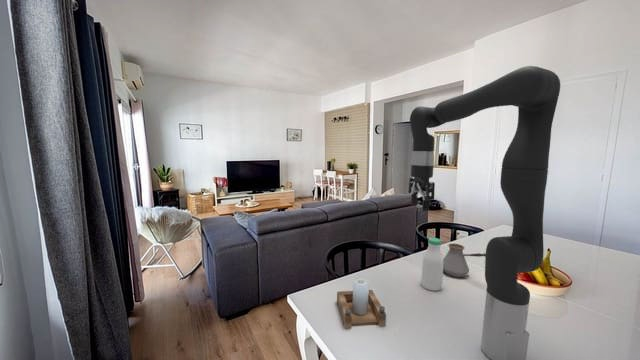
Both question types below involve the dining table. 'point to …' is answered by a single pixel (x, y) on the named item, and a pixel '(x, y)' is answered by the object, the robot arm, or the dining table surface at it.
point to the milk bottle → (432, 266)
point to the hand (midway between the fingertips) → (419, 207)
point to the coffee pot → (457, 261)
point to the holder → (351, 319)
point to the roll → (360, 296)
